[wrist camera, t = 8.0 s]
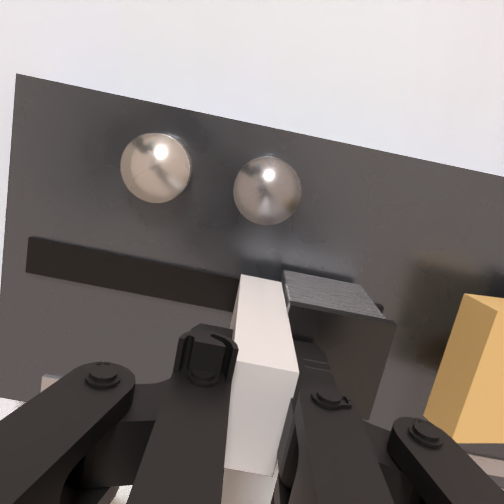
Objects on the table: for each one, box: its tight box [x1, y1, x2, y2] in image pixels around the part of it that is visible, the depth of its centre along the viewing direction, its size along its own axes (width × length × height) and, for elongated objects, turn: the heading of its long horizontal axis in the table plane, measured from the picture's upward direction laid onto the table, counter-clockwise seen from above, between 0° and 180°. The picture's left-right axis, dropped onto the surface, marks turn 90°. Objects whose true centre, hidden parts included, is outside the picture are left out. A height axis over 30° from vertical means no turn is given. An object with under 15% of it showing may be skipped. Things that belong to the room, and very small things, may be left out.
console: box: [0, 74, 504, 488], centre depth 18 cm, size 31×13×4 cm, turn 78°
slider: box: [281, 270, 397, 421], centre depth 15 cm, size 3×3×4 cm
